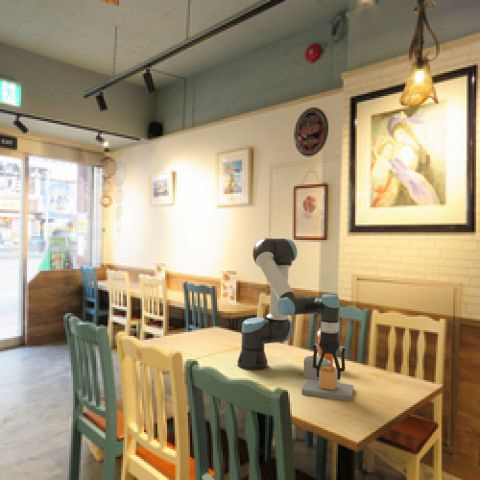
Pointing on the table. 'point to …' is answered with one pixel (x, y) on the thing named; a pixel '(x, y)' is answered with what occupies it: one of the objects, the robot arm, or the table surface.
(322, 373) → the tan hollow block
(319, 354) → the shaker bottle
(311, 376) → the lumpy-topped squat cylinder
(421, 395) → the table surface
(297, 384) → the table surface
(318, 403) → the table surface
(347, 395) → the plate
